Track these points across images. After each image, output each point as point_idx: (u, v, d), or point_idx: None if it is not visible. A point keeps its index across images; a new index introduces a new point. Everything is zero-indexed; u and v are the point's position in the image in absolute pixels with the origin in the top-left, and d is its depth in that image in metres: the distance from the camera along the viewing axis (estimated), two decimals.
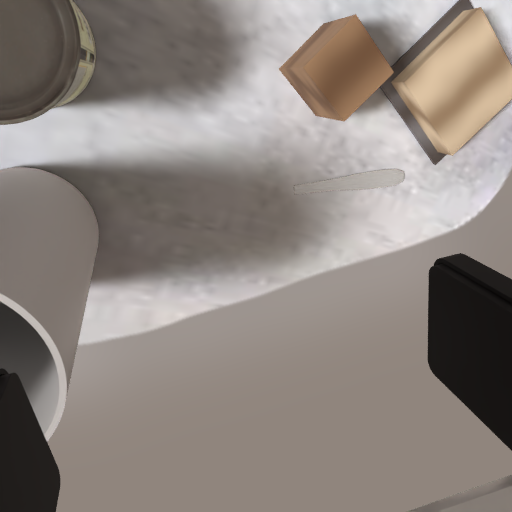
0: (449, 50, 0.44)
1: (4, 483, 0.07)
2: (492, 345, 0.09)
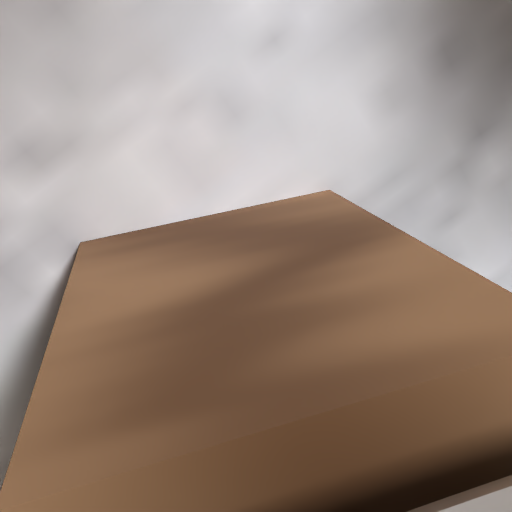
0: None
1: None
2: None
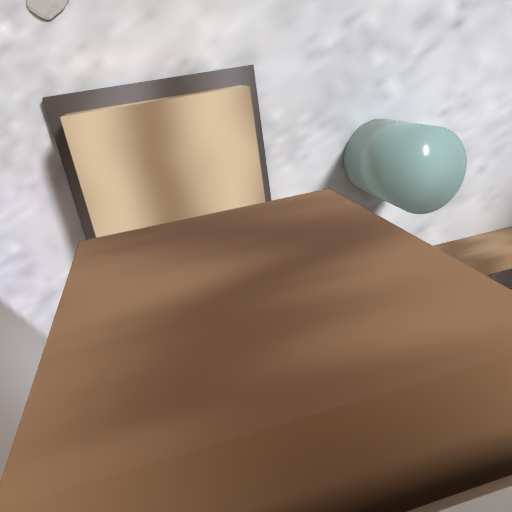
0: (247, 184, 0.27)
1: None
2: None
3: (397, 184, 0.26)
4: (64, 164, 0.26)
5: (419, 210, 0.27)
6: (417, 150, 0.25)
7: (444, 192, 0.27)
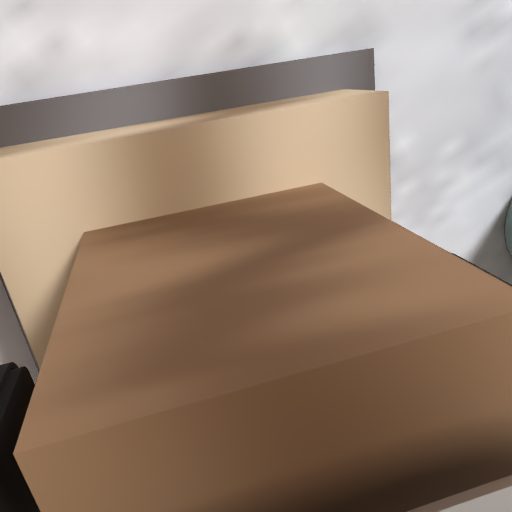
0: None
1: (16, 474, 0.07)
2: None
3: None
4: None
5: None
6: None
7: None
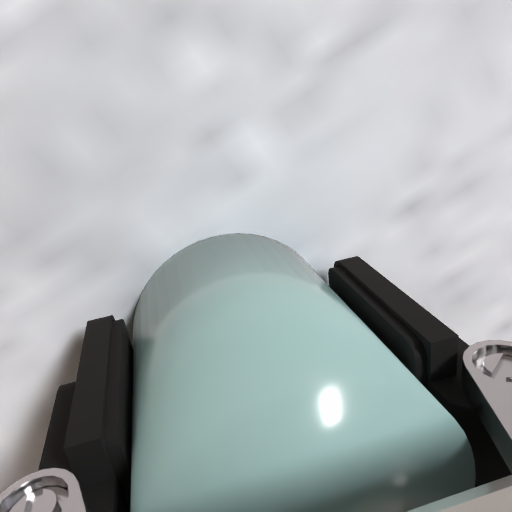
0: None
1: None
2: None
3: None
4: None
5: None
6: (263, 476, 0.06)
7: None
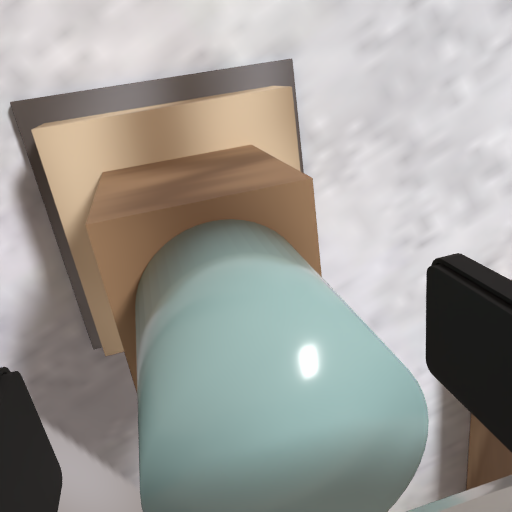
0: None
1: (7, 481, 0.07)
2: (489, 345, 0.09)
3: None
4: (41, 190, 0.20)
5: None
6: (250, 414, 0.07)
7: (353, 511, 0.08)
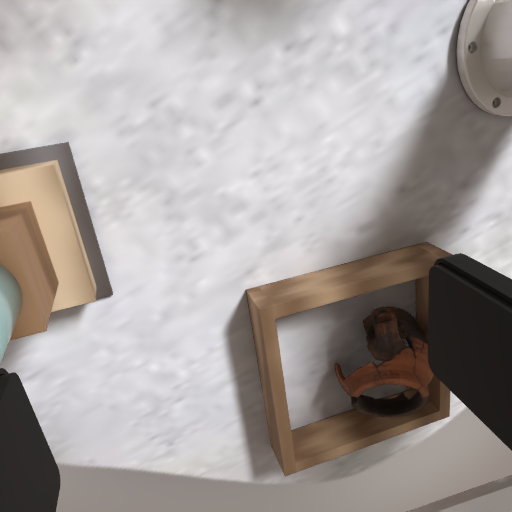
0: (63, 244, 0.31)
1: (4, 483, 0.07)
2: (492, 345, 0.09)
3: None
4: None
5: None
6: None
7: None
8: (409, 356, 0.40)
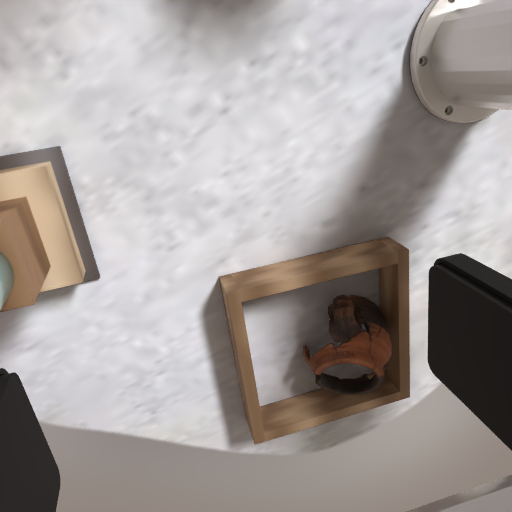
0: (54, 233, 0.37)
1: (4, 483, 0.07)
2: (492, 345, 0.09)
3: None
4: None
5: None
6: None
7: None
8: (365, 339, 0.45)
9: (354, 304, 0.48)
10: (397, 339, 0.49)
